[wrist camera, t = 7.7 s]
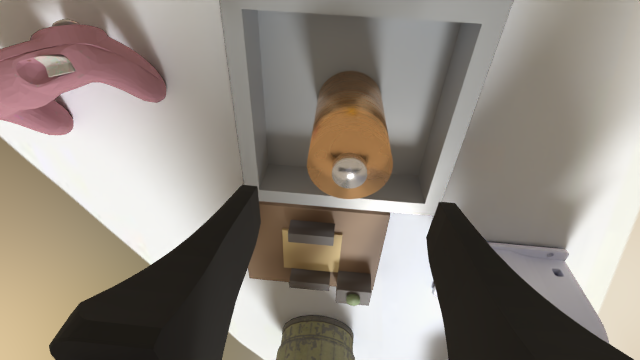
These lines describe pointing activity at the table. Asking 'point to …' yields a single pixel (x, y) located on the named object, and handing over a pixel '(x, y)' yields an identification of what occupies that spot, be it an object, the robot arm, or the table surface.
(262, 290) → the table surface
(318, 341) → the thermos
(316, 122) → the cell
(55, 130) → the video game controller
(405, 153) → the tray
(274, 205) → the brown stand base
